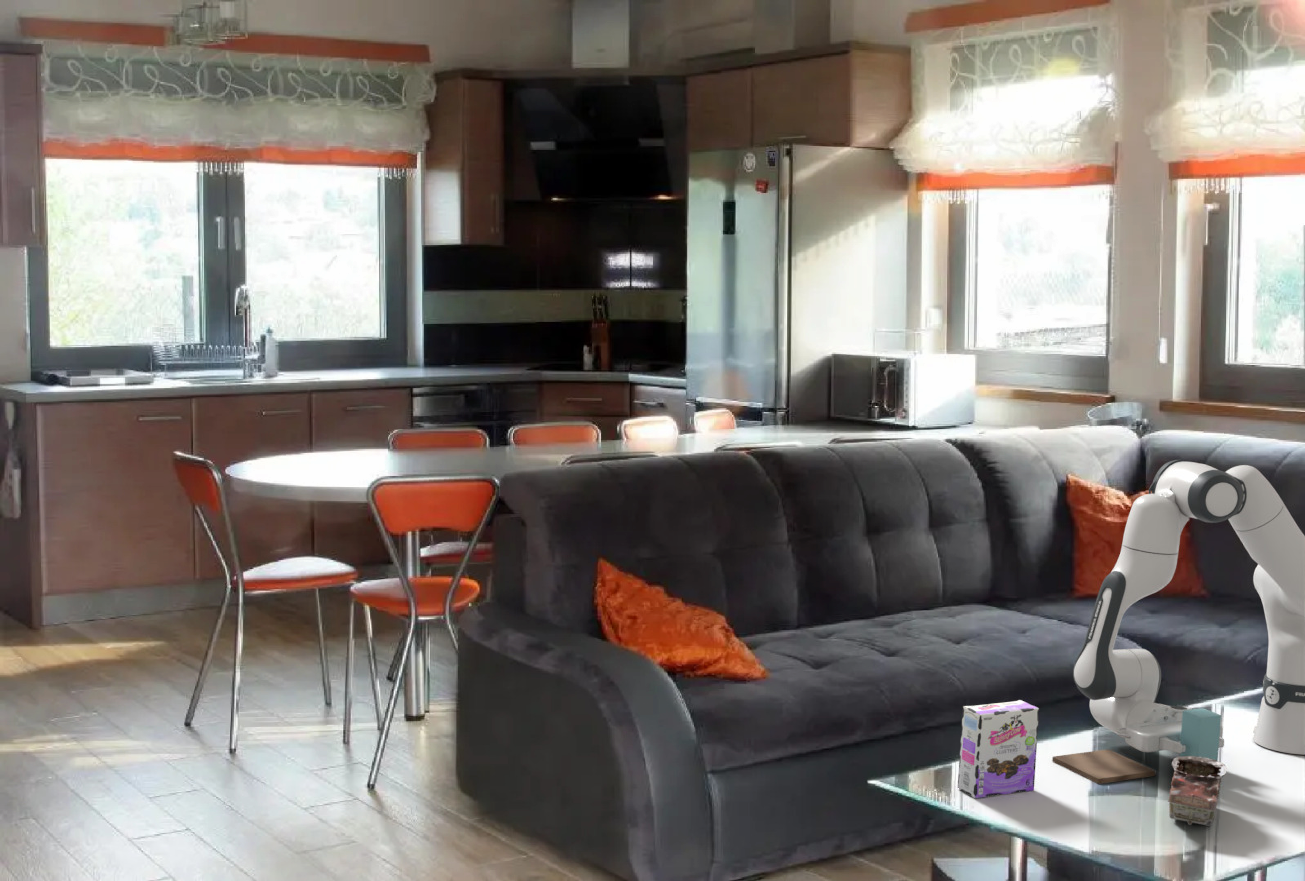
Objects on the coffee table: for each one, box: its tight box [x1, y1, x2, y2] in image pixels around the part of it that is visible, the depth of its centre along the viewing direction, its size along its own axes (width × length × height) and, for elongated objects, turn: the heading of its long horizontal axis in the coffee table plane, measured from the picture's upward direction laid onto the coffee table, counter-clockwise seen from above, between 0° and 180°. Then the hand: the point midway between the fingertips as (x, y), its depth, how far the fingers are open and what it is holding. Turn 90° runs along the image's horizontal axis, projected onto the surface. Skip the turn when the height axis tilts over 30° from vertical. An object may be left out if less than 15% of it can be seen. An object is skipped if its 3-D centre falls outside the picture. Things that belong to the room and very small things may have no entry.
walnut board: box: [1051, 748, 1156, 785], centre depth 332 cm, size 14×14×1 cm
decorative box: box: [1167, 756, 1227, 827], centre depth 304 cm, size 13×20×10 cm, turn 152°
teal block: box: [1178, 707, 1222, 761], centre depth 324 cm, size 5×5×14 cm
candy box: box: [957, 699, 1040, 799], centre depth 317 cm, size 14×6×16 cm, turn 114°
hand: (1202, 746), depth 324 cm, fingers open, 8 cm apart
